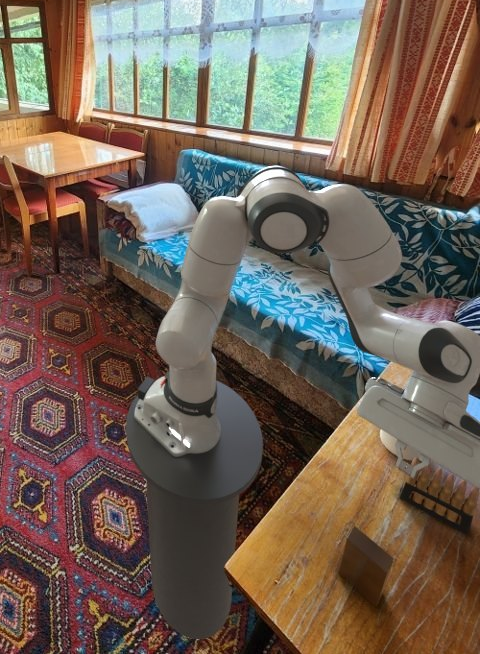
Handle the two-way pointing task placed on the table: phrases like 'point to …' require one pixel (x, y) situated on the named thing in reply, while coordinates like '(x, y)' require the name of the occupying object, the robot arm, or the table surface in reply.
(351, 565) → the walnut block
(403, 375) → the table surface
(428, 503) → the ammunition clip
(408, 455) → the mug
